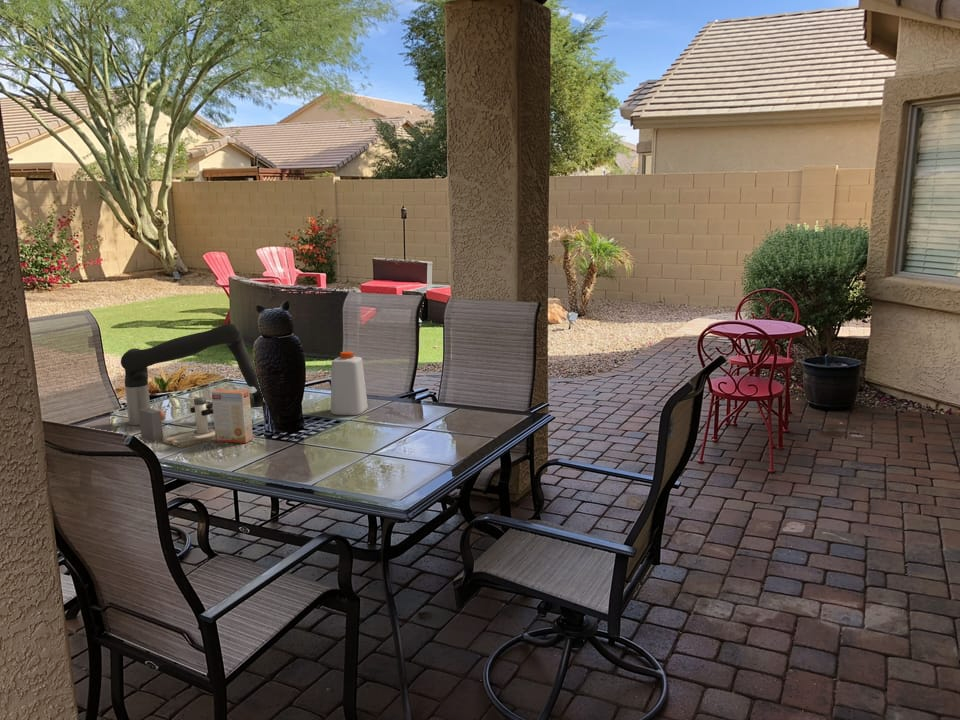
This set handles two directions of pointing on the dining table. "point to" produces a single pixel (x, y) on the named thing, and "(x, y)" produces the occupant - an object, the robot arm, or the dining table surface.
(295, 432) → the dining table surface
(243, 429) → the cracker box
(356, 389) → the plastic bottle
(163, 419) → the button
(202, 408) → the white shaker grey cap
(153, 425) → the button panel
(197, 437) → the beige board with ring
